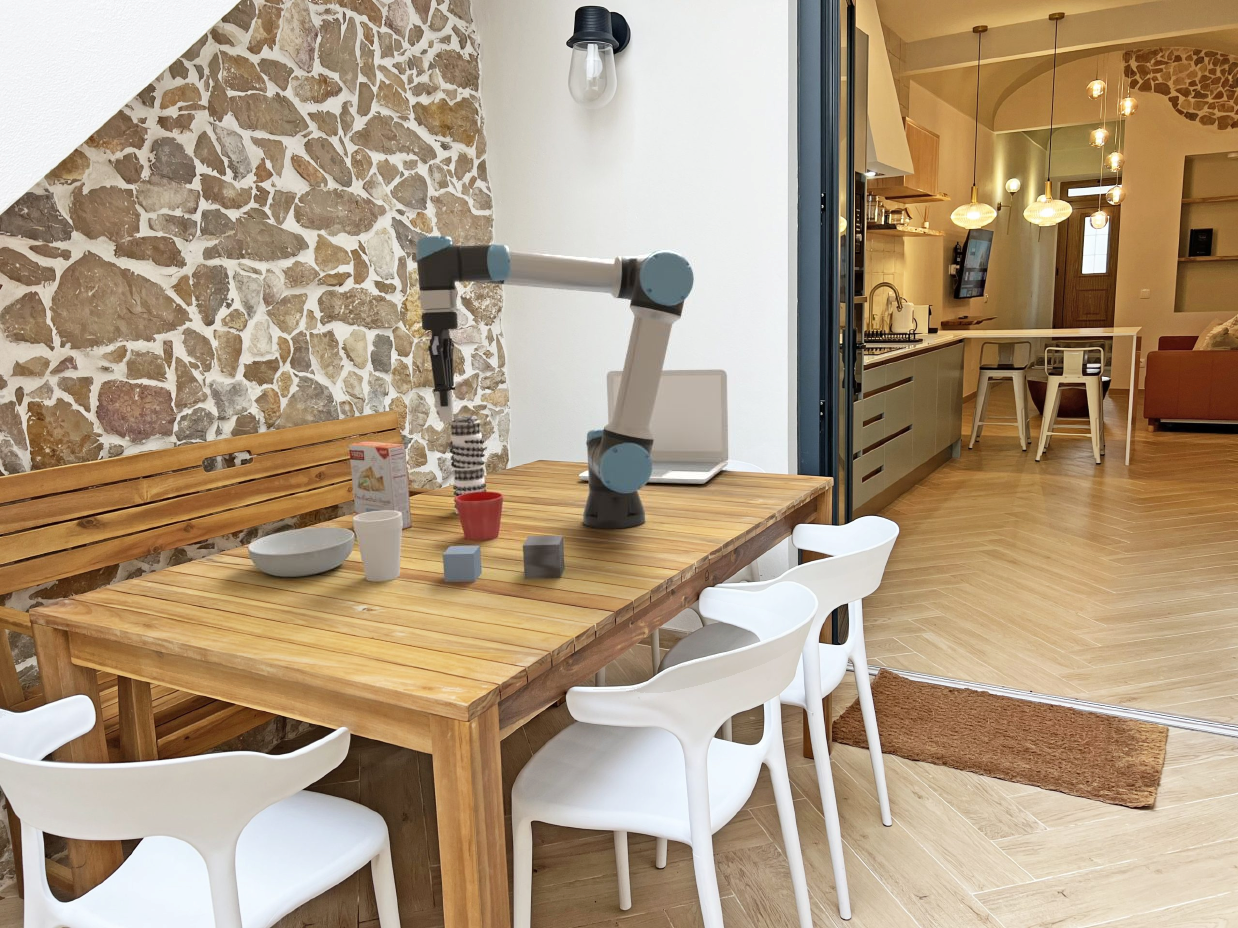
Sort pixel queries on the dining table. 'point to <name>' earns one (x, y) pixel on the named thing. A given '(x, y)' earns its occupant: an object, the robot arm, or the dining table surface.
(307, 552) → the serving bowl
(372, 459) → the cracker box
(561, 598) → the dining table surface
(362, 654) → the dining table surface
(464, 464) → the black and white cylinder
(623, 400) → the robot arm
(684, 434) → the laptop
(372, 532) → the foam cup
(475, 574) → the slate-blue block
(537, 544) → the charcoal block
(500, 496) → the flower pot
